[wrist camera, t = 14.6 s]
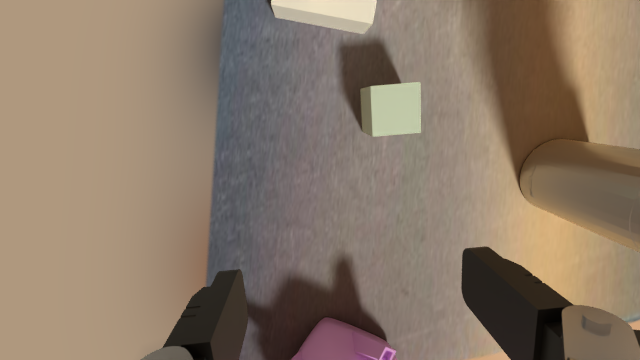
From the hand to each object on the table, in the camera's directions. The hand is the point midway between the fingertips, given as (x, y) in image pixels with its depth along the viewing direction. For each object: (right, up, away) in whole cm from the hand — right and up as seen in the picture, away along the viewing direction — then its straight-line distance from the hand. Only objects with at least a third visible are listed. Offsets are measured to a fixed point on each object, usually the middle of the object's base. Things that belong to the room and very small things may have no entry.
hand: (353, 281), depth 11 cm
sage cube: (+6, +12, +26) cm, 30 cm away
